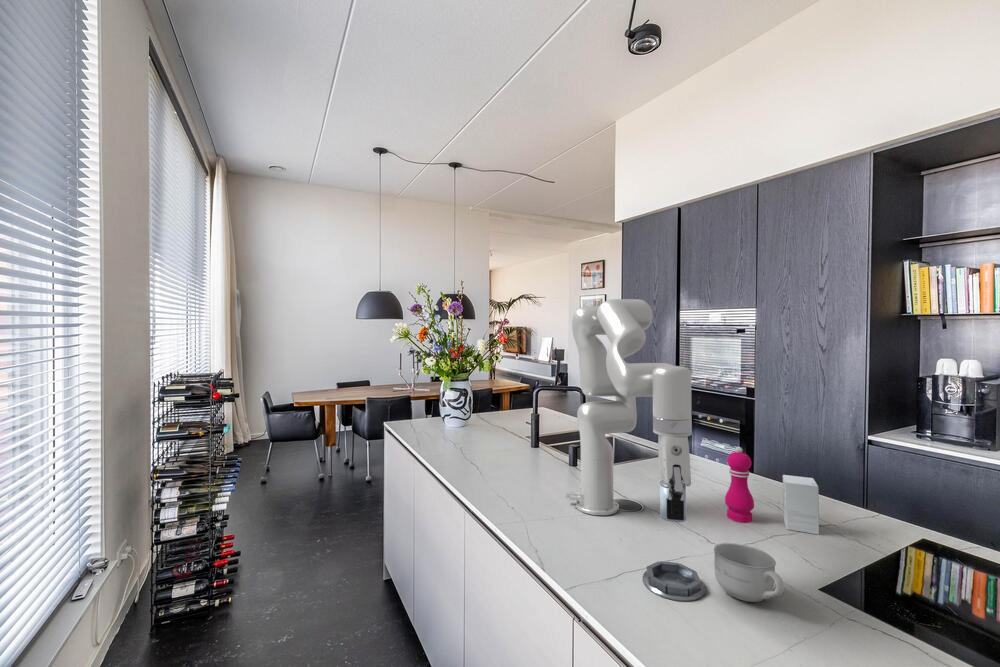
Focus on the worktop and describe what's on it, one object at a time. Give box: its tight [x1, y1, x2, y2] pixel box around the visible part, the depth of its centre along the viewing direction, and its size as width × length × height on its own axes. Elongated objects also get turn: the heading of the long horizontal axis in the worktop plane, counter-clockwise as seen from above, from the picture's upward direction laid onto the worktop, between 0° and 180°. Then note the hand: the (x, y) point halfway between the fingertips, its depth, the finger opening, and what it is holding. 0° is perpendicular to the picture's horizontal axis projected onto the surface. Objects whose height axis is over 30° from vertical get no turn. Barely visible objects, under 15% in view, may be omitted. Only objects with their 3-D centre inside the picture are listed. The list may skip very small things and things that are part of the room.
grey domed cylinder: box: [659, 479, 687, 523], centre depth 91 cm, size 5×5×7 cm
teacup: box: [713, 542, 785, 603], centre depth 87 cm, size 14×11×8 cm
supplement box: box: [782, 474, 820, 535], centre depth 118 cm, size 7×7×13 cm
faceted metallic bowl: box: [642, 560, 706, 602], centre depth 91 cm, size 12×12×2 cm
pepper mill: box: [724, 446, 755, 524], centre depth 124 cm, size 7×7×20 cm
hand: (672, 512), depth 91 cm, fingers closed on grey domed cylinder, 5 cm apart
